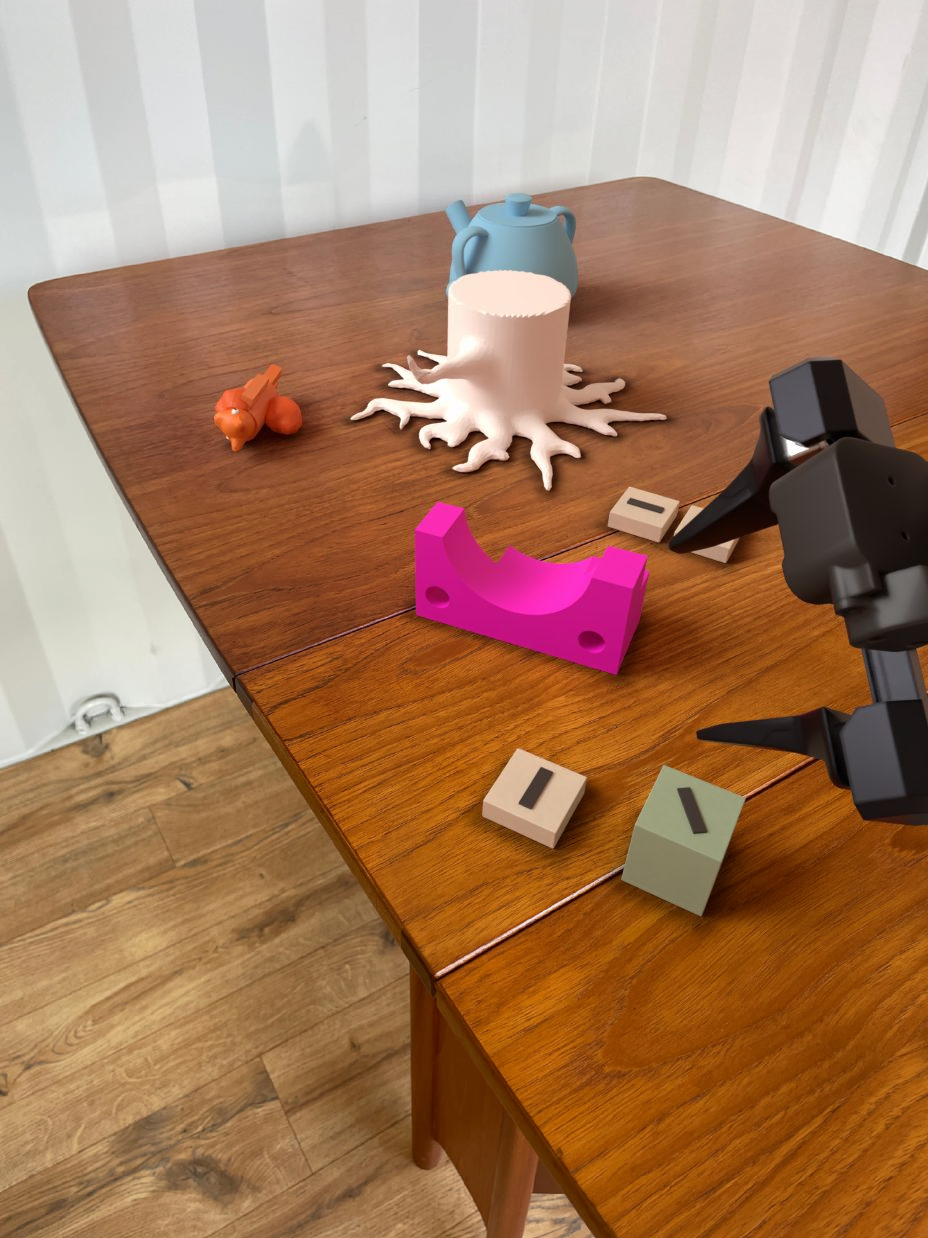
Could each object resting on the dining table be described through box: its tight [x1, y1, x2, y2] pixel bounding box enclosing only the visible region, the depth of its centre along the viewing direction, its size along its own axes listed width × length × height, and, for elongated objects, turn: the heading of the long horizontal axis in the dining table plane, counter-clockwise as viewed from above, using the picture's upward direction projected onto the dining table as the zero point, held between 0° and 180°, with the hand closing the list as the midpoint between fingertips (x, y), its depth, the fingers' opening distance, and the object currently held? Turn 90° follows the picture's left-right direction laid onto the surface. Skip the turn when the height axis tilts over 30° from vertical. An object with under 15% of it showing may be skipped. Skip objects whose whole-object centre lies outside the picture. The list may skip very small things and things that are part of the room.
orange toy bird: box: [212, 363, 303, 453], centre depth 83 cm, size 5×8×12 cm
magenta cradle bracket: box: [414, 501, 650, 676], centre depth 62 cm, size 15×6×8 cm, turn 67°
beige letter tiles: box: [607, 486, 740, 564], centre depth 73 cm, size 10×4×2 cm, turn 62°
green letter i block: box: [620, 764, 746, 917], centre depth 47 cm, size 4×4×5 cm
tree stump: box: [350, 270, 668, 492], centre depth 86 cm, size 28×28×11 cm
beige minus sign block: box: [481, 747, 588, 850], centre depth 51 cm, size 4×4×2 cm
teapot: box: [444, 192, 579, 299], centre depth 106 cm, size 20×20×13 cm
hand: (686, 639), depth 41 cm, fingers open, 9 cm apart
